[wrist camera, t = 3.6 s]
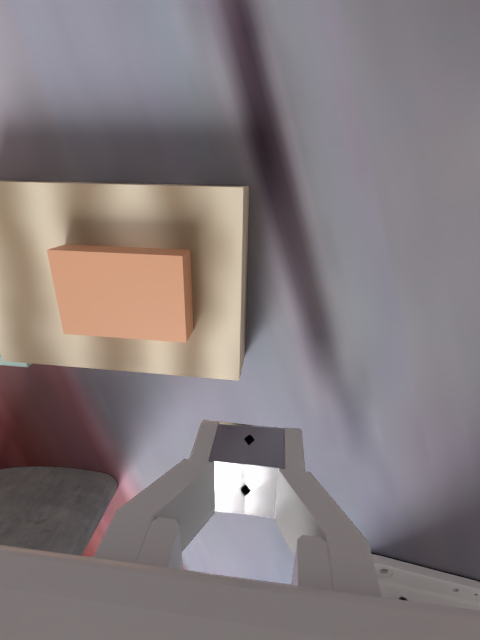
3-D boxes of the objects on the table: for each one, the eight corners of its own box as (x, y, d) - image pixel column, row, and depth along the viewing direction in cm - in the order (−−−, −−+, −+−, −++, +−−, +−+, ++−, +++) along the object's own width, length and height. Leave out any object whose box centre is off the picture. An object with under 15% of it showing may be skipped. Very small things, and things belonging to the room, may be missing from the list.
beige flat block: (249, 186, 25) (243, 187, 21) (244, 355, 30) (239, 380, 26) (-4, 180, 27) (-50, 180, 23) (34, 340, 32) (2, 361, 28)
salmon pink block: (190, 249, 23) (182, 256, 21) (193, 330, 25) (186, 342, 23) (65, 244, 24) (46, 249, 22) (79, 322, 26) (63, 333, 24)
